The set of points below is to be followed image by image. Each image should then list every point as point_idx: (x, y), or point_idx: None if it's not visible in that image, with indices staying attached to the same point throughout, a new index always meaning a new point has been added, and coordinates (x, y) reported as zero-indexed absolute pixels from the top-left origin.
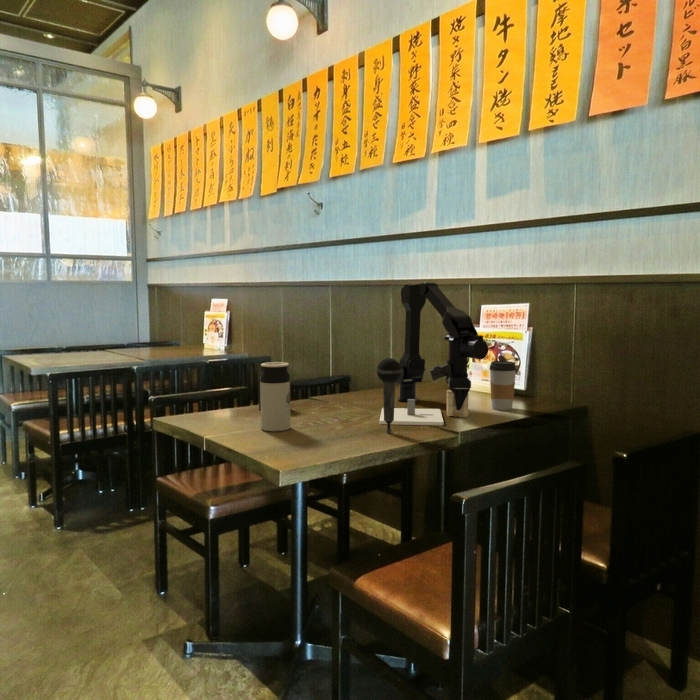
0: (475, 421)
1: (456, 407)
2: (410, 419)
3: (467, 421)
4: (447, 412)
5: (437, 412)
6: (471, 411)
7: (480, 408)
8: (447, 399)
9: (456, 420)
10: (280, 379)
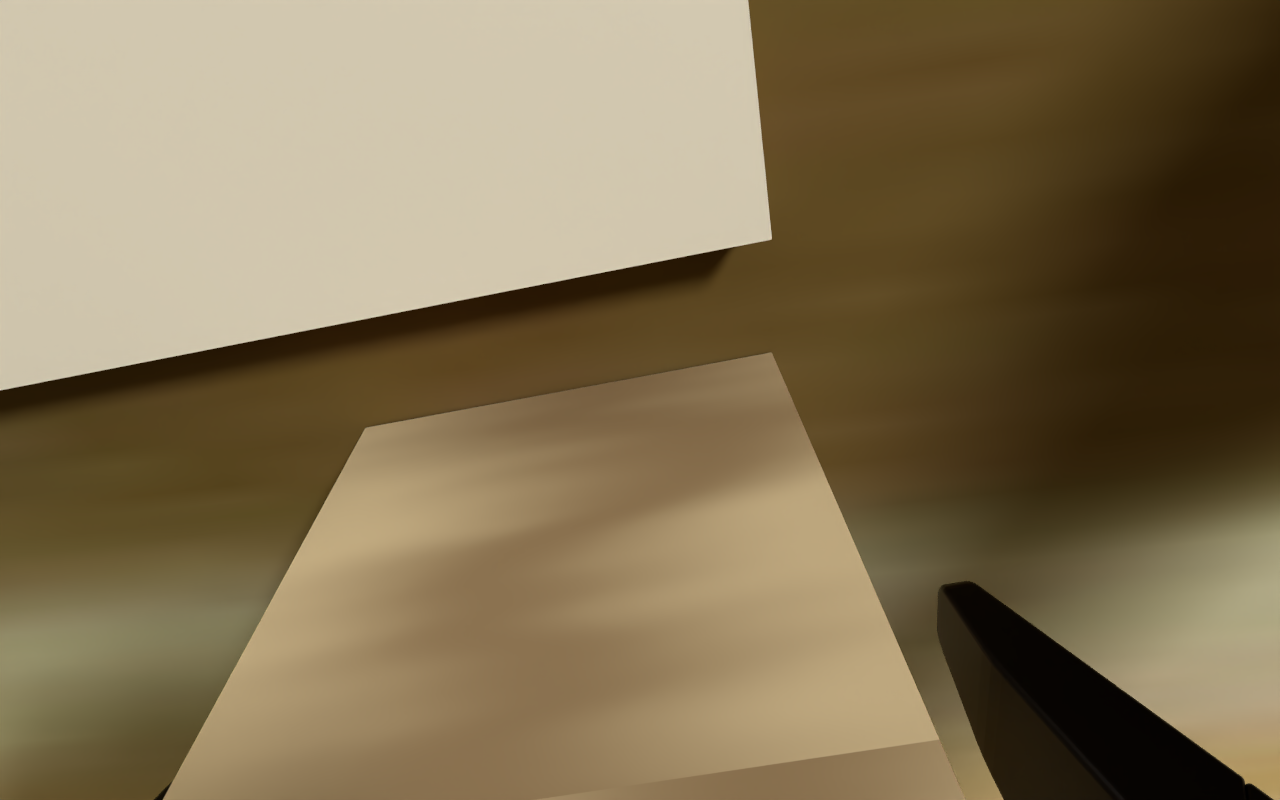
0: None
1: None
2: None
3: (163, 710)
4: (455, 442)
5: (300, 241)
6: (919, 686)
7: None
8: (473, 666)
9: (125, 586)
10: None
